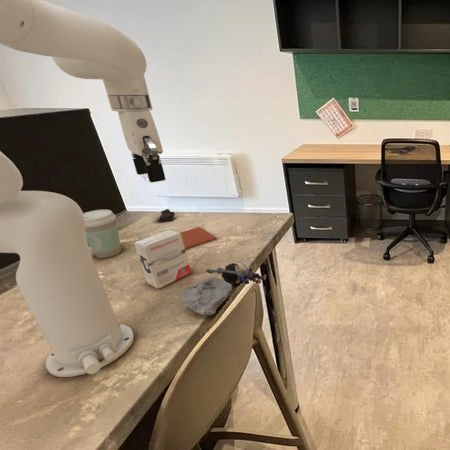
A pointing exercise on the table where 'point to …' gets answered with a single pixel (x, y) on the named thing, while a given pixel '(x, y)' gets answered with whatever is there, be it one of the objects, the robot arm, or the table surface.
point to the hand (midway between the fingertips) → (151, 177)
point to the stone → (206, 295)
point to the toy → (238, 274)
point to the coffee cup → (102, 233)
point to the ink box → (163, 258)
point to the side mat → (195, 237)
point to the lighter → (166, 215)
